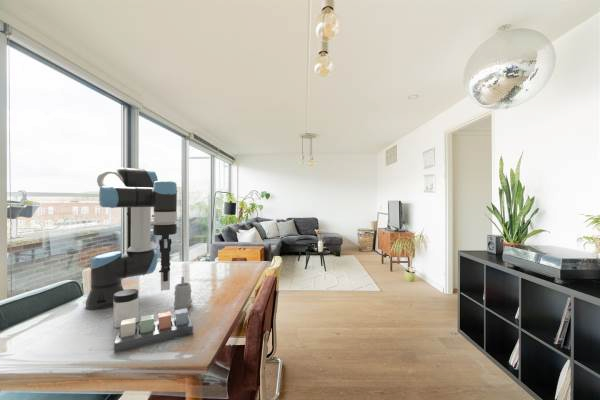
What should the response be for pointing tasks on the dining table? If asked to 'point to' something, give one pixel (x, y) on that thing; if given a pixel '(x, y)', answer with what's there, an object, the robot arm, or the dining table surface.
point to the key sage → (147, 323)
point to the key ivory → (128, 327)
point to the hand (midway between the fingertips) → (165, 286)
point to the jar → (125, 306)
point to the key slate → (181, 316)
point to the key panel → (152, 335)
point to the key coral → (164, 320)
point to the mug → (182, 295)
